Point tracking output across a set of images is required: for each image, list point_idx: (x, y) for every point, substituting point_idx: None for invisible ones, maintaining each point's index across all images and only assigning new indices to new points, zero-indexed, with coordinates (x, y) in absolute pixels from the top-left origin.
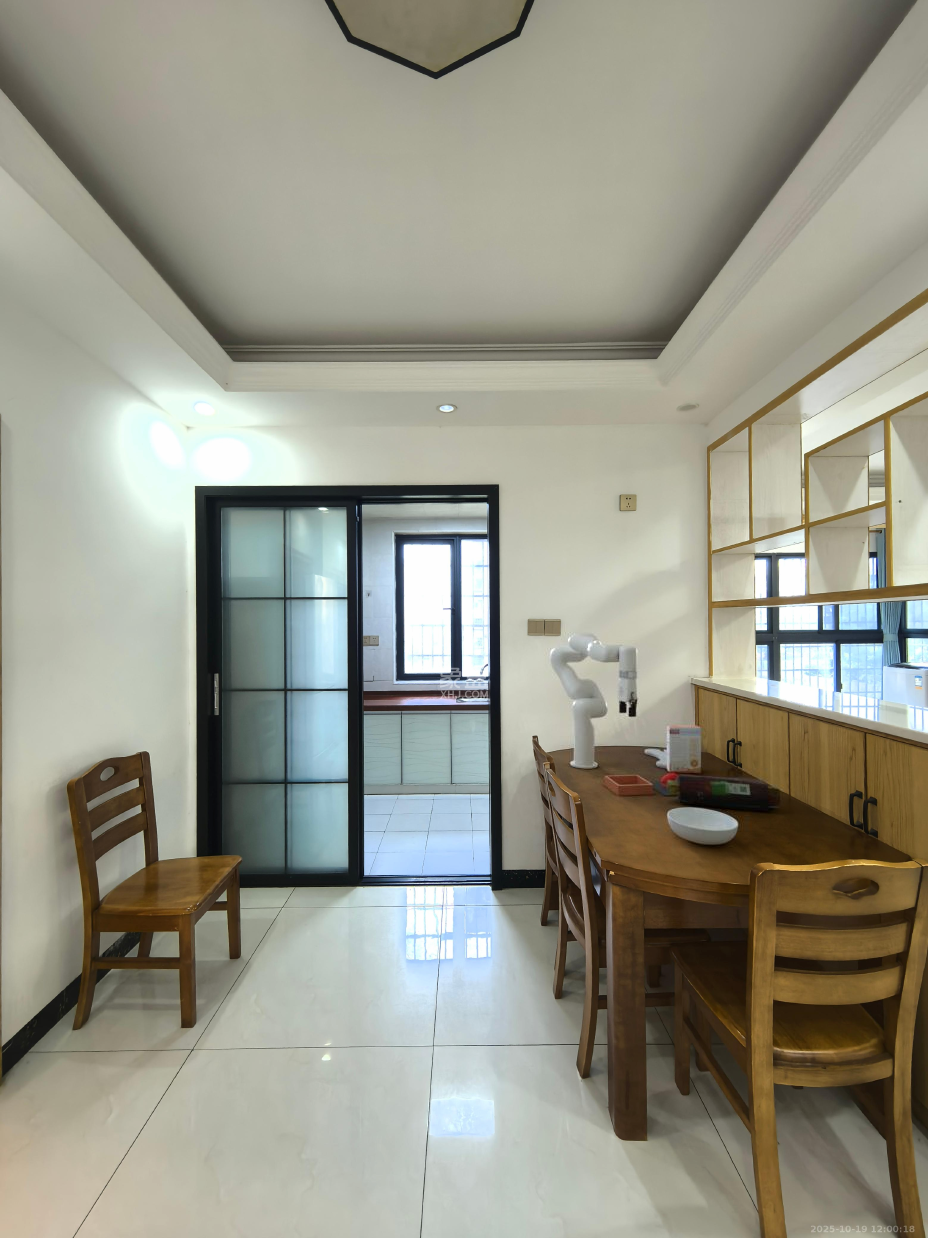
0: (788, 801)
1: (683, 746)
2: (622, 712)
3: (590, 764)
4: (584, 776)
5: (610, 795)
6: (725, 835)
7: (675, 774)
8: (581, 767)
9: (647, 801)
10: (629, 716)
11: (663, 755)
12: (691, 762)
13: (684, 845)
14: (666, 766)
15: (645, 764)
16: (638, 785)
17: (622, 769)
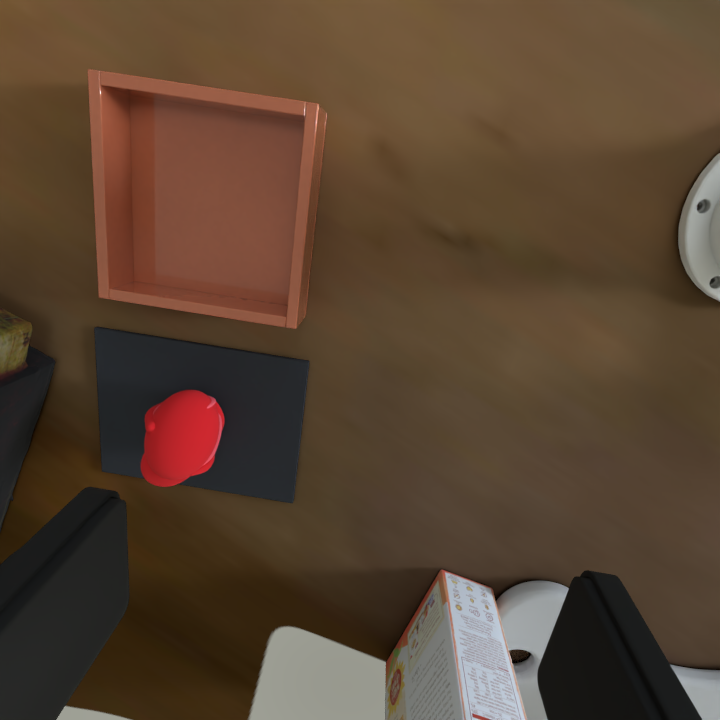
0: None
1: None
2: (562, 620)
3: (714, 233)
4: (541, 82)
5: (132, 36)
6: None
7: (154, 468)
8: (717, 157)
9: (23, 191)
10: (89, 496)
11: None
12: (400, 681)
13: None
14: (502, 601)
15: (619, 559)
16: (95, 208)
17: (585, 401)
